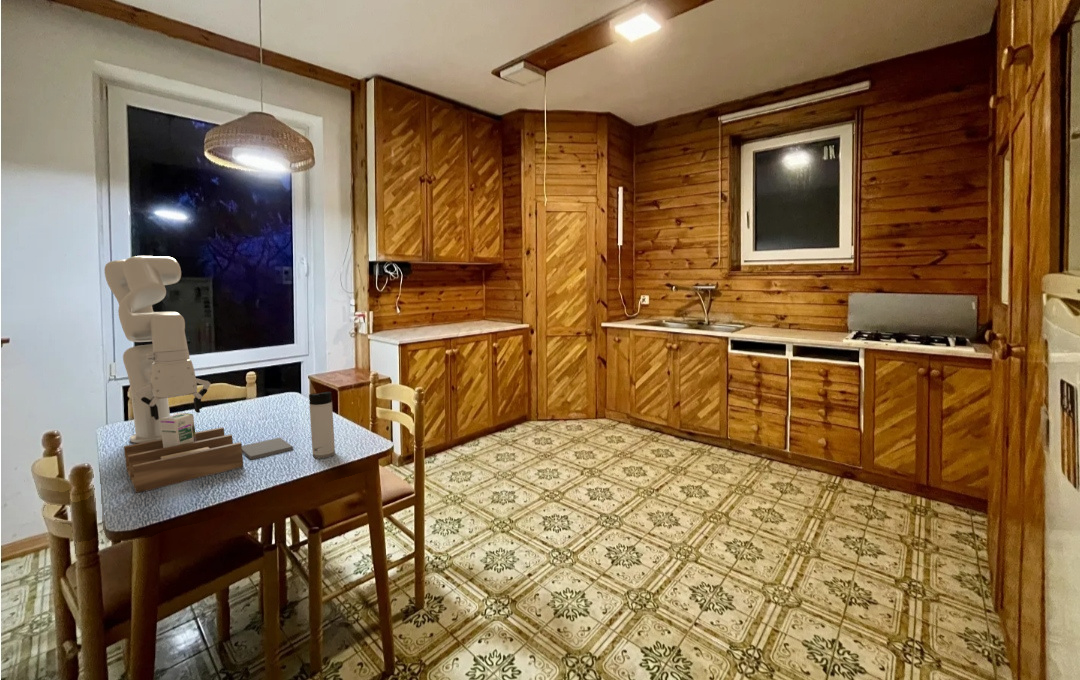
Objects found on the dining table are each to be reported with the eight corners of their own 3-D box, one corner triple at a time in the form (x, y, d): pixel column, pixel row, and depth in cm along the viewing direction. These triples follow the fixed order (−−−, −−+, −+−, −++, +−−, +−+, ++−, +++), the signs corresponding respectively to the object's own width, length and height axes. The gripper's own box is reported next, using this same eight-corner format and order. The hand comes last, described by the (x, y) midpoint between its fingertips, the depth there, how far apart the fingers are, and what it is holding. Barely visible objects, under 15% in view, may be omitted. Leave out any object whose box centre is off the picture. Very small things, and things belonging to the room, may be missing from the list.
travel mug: (315, 460, 145) (311, 395, 142) (310, 454, 150) (306, 390, 147) (337, 456, 149) (333, 392, 146) (332, 449, 154) (328, 388, 151)
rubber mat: (239, 449, 154) (238, 446, 154) (280, 440, 163) (279, 437, 162) (250, 459, 146) (250, 456, 146) (292, 449, 154) (292, 446, 154)
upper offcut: (161, 467, 134) (160, 456, 133) (208, 456, 141) (208, 446, 141) (165, 473, 130) (164, 462, 129) (213, 461, 138) (212, 451, 137)
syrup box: (181, 468, 139) (176, 419, 137) (164, 466, 141) (159, 417, 139) (199, 460, 145) (194, 413, 143) (182, 459, 146) (177, 412, 144)
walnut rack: (126, 469, 138) (123, 446, 137) (224, 448, 155) (222, 427, 154) (136, 493, 124) (133, 466, 123) (243, 466, 140) (241, 443, 140)
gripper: (133, 362, 130) (140, 424, 132) (209, 354, 142) (215, 411, 144) (129, 359, 135) (137, 419, 137) (204, 352, 147) (209, 407, 149)
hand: (177, 415), depth 140 cm, fingers open, 9 cm apart
